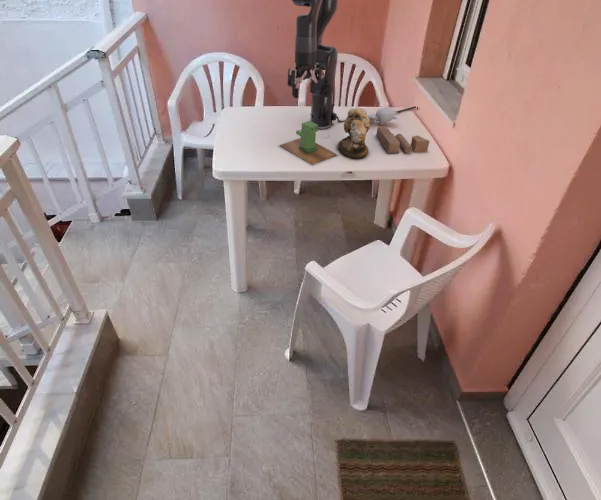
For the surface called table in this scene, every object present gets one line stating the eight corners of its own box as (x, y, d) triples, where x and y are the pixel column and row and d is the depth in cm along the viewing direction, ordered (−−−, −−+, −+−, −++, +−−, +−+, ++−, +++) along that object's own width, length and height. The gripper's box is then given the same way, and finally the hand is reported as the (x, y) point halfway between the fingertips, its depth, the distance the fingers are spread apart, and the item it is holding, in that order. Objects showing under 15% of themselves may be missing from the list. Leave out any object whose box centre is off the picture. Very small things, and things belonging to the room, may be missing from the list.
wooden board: (304, 138, 176) (304, 136, 176) (336, 155, 165) (336, 154, 164) (280, 146, 170) (280, 144, 169) (312, 164, 158) (312, 163, 158)
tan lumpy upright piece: (333, 140, 175) (336, 100, 164) (359, 139, 177) (364, 99, 166) (344, 160, 162) (348, 117, 151) (373, 158, 163) (379, 116, 153)
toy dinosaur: (291, 132, 167) (305, 119, 157) (300, 129, 169) (315, 116, 159) (303, 158, 167) (318, 146, 157) (312, 154, 170) (327, 142, 160)
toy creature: (358, 109, 195) (402, 107, 191) (358, 125, 198) (401, 123, 193) (355, 109, 184) (401, 107, 179) (355, 126, 186) (401, 124, 181)
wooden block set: (390, 141, 163) (377, 123, 176) (388, 155, 166) (375, 136, 180) (431, 139, 165) (414, 122, 179) (428, 153, 169) (412, 134, 182)
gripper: (297, 54, 139) (296, 102, 149) (327, 47, 146) (324, 94, 156) (283, 49, 143) (283, 96, 153) (313, 43, 150) (311, 88, 161)
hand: (304, 95), depth 155 cm, fingers open, 8 cm apart
